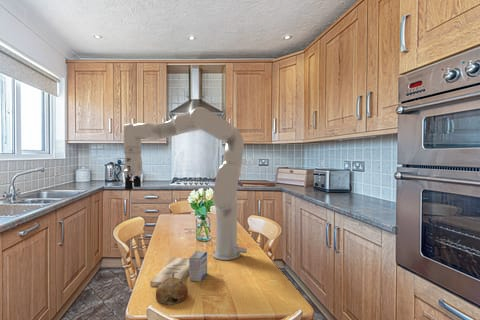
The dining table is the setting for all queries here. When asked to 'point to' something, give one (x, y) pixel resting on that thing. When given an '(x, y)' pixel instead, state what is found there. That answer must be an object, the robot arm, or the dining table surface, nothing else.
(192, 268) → the medicine box
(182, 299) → the bread roll
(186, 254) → the dining table surface
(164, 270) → the board
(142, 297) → the dining table surface
